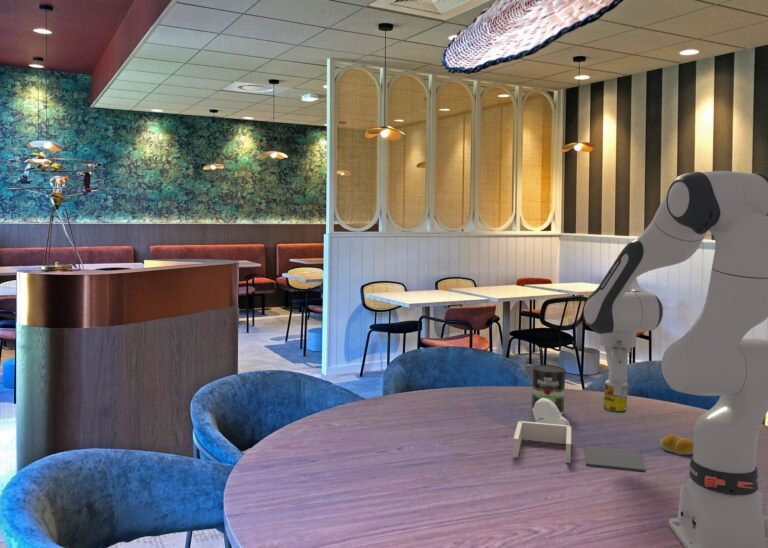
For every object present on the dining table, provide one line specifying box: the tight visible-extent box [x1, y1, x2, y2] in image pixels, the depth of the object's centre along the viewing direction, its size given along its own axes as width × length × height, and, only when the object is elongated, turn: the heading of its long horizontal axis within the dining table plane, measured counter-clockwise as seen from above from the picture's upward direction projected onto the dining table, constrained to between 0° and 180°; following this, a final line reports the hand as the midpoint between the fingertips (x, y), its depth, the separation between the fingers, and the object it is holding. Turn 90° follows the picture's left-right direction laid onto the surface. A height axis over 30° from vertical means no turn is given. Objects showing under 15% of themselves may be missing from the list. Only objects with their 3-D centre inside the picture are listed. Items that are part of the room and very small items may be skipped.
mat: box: [584, 445, 646, 472], centre depth 174 cm, size 14×14×1 cm
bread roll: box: [659, 433, 694, 456], centre depth 181 cm, size 8×9×4 cm
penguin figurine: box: [532, 398, 571, 426], centre depth 197 cm, size 6×8×12 cm
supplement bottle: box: [603, 372, 629, 416], centre depth 172 cm, size 6×6×10 cm
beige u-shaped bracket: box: [512, 420, 572, 464], centre depth 180 cm, size 16×14×5 cm
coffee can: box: [531, 364, 567, 415], centre depth 215 cm, size 10×10×14 cm
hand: (615, 391), depth 172 cm, fingers closed on supplement bottle, 5 cm apart
